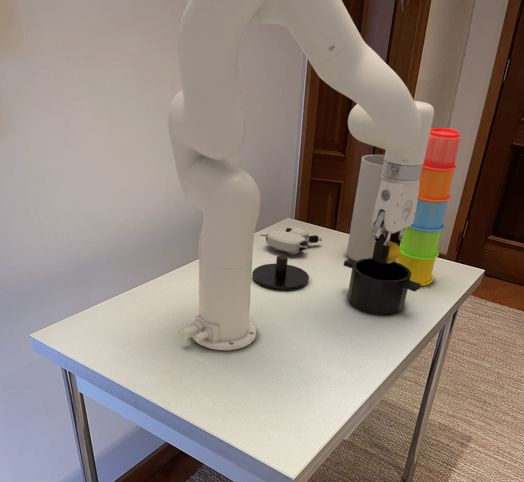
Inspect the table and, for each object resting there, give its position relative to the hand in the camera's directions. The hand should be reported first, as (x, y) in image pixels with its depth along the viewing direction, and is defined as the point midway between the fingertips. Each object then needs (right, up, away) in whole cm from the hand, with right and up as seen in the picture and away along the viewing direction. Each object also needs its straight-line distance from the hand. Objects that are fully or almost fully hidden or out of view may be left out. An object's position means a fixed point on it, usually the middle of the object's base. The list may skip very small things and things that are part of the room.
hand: (384, 258), depth 113 cm
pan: (-1, -9, +6) cm, 11 cm away
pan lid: (-22, -2, +13) cm, 25 cm away
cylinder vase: (+2, +5, +28) cm, 29 cm away
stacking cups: (+11, -2, +19) cm, 22 cm away
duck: (0, 0, 0) cm, 0 cm away
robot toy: (-18, +8, +31) cm, 36 cm away
